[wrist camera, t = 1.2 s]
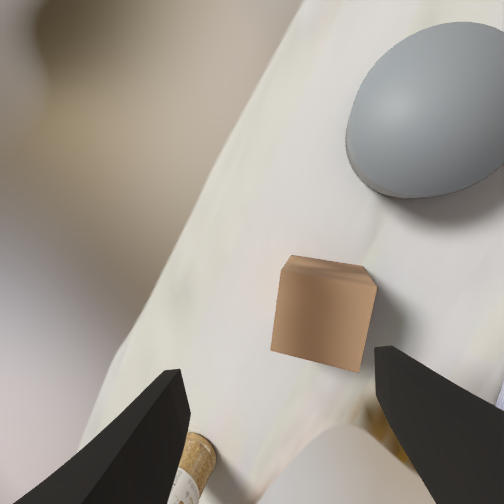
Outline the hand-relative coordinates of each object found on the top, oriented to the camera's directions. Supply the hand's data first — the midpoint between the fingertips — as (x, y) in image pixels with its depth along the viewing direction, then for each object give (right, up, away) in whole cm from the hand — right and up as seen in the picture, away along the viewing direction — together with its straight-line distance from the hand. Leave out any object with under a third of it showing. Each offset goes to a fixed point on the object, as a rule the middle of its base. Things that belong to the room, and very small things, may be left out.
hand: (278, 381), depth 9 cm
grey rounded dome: (+9, +12, +6) cm, 16 cm away
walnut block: (+4, +2, +9) cm, 10 cm away
